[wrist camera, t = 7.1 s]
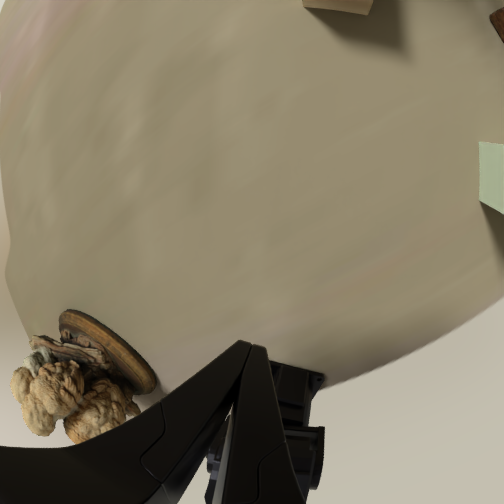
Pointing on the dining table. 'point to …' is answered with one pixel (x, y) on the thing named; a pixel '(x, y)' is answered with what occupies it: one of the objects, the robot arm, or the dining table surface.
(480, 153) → the sage block
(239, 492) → the robot arm
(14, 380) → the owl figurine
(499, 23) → the brick
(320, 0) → the maple block
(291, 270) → the dining table surface
